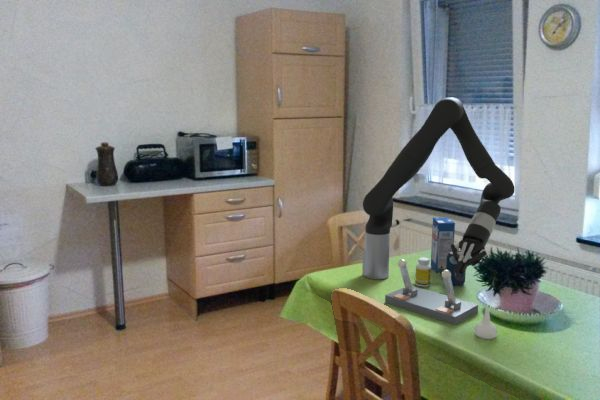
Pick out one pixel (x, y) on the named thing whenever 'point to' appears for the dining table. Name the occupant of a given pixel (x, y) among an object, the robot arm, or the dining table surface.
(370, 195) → the robot arm
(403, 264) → the lever inner
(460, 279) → the soda can
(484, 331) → the garlic bulb
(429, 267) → the supplement bottle
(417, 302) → the switch unit
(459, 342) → the dining table surface
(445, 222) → the milk carton
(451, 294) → the lever outer
